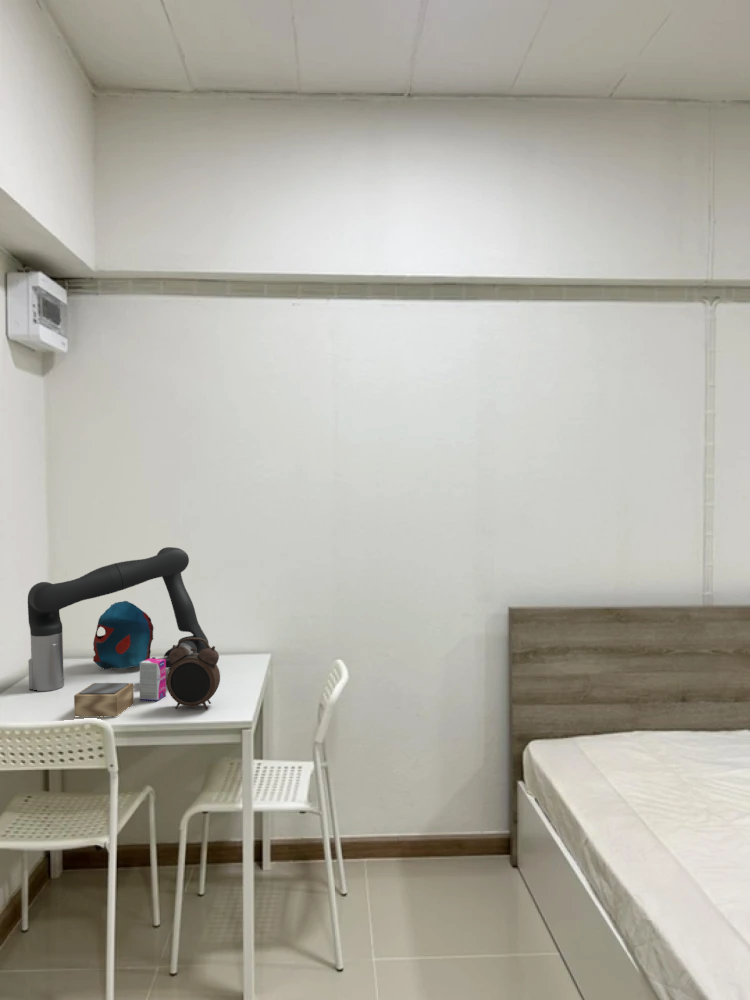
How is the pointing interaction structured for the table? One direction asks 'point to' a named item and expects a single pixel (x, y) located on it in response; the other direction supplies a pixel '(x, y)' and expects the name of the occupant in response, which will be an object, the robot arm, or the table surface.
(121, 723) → the table surface
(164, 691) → the supplement box
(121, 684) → the pedestal
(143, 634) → the mask
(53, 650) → the robot arm
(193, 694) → the alarm clock
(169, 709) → the table surface
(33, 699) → the table surface
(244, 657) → the table surface
